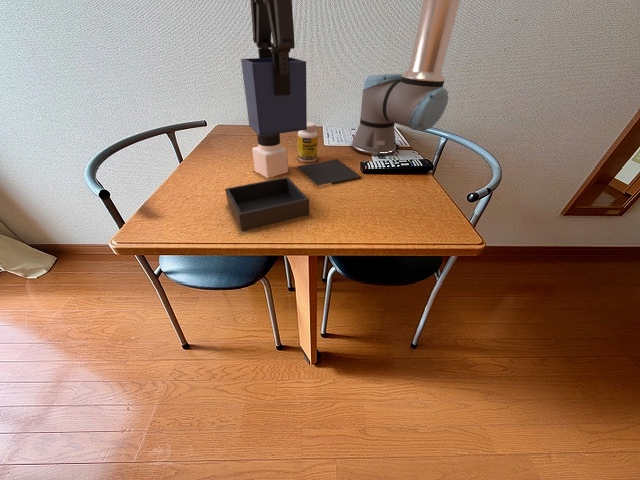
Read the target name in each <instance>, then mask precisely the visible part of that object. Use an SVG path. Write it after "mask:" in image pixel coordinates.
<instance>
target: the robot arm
mask: <svg viewBox="0 0 640 480" xmlns="http://www.w3.org/2000/svg"><path fill="white" fill-rule="evenodd" d="M460 3H461V0H422V4H421V9H420V14H419V18H418V22H417V23H418V24H417V28H416V33H415V36H414V41H413V42H414V43H413V47H412V52H411V57H410V61H409V66H408V69H407V70H406V71H405V72H403V74H402V73H387V74H386V73H385V74H374V75H373V74H372V75H368V76H366V77H365V80H364V84H363V89H362V97H361V98H362V99H361V108H360V117H359V125H358V128H357V130H356V133H355V136H354V138H353V139H352V144H351V147H352V149H353V150H354V151H356V152H357V153H360V154H363V155H366V156H376V157H380V156H381V157H383V156H389V155H392V154H394V153H395V152H396V148H399V147H400V144H398V143H397V141H396V133H395V125H396V124H397V125H400V126H403V127H407V128H409V129H410V130H418V131H421V132H422V131H423V132H424V131H427V130H429V129H431V128H433V127H434V126H435V125H436V124H437V123H438V122H439V120H440V119H441V118H442V116H443V114H444V113H445V111H446V108H447V105H448V102H449V91H448V90H447V88H445V87H444V84H445V80H446V78H445V77H444V75H443V73H442V70H443V66H444V63H445V59H446V56H447V51H448V47H449V43H450V40H451V36H452V32H453V29H454V24H455V21H456V17H457V14H458V10H459V6H460ZM293 11H294V10H293V0H250V13H251V14H250V15H251V26H252V41H253V43H254V44H256V48H257V51H258V58H273V70H274V85H275V95H276V96H281V95H290V70H289V57H290V53H291V50H294V49H295V46H296V42H295V28H294V13H293ZM389 151H392V152H389ZM380 152H389V153H380Z"/></svg>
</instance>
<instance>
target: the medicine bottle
mask: <svg viewBox="0 0 640 480" xmlns="http://www.w3.org/2000/svg"><path fill="white" fill-rule="evenodd" d="M256 137H257V146H254V147H252V148H251V151H252V158H253V166H254V172H255V173H257V174H260V175H262V176H263V177H264V178H266V179H270V178H273V177H277V176H279V175H282V174H286V173H289V161H288V159H289V157H288V149H287V148H285V147H283V146H281V133H279V134H272V135H264V136H259V135H258V134H257V133H256Z"/></svg>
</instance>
